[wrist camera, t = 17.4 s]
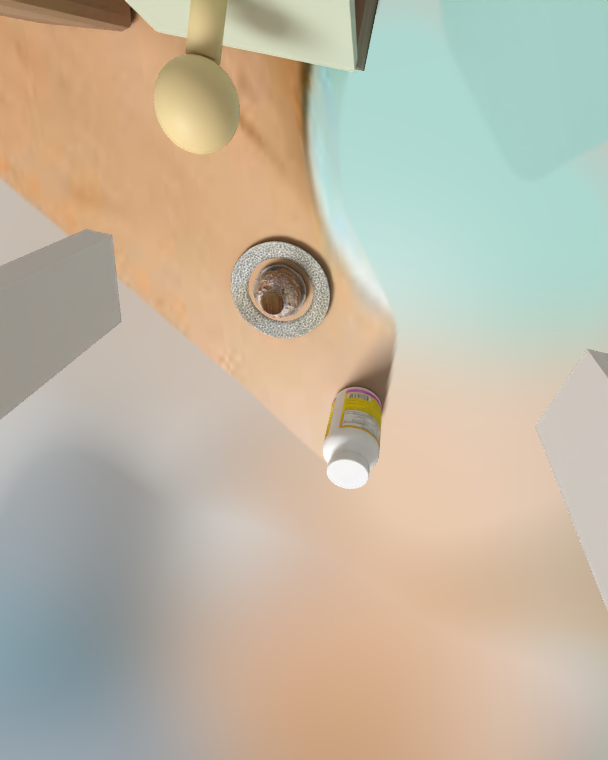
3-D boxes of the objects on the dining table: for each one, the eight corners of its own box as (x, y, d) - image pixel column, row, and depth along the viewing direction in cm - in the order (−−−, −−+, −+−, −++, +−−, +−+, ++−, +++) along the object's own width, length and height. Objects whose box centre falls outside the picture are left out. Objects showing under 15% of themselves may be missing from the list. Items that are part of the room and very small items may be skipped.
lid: (351, -48, 18) (308, 172, 21) (357, 58, 28) (328, 195, 31) (40, -106, 19) (41, 113, 22) (157, 18, 29) (147, 154, 32)
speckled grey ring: (352, 297, 49) (347, 314, 45) (281, 350, 55) (272, 369, 51) (281, 215, 45) (270, 226, 41) (214, 282, 51) (199, 297, 47)
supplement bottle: (351, 430, 59) (340, 502, 49) (323, 397, 57) (305, 465, 47) (392, 411, 56) (389, 484, 46) (364, 376, 54) (354, 444, 43)
